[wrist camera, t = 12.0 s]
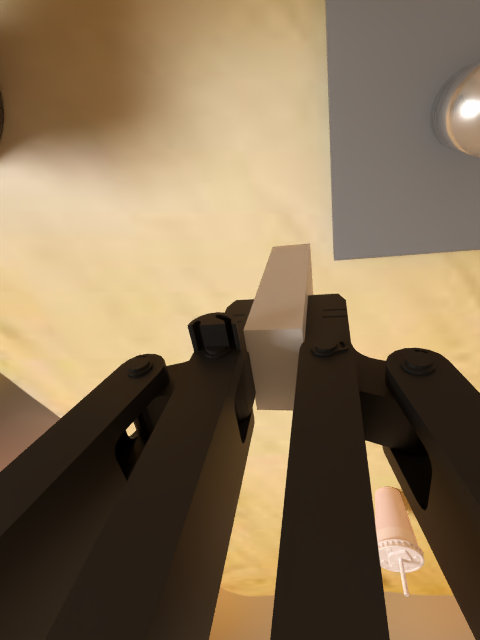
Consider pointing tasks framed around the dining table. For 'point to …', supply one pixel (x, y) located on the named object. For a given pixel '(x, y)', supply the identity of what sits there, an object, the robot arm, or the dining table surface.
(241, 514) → the dining table surface
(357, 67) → the grey base plate
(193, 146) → the dining table surface
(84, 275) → the dining table surface
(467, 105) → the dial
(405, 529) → the smoothie
